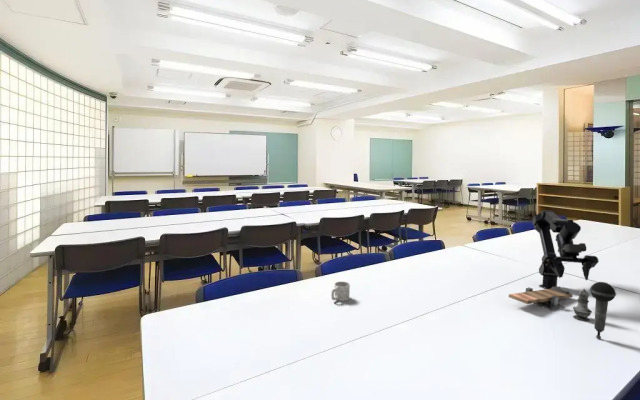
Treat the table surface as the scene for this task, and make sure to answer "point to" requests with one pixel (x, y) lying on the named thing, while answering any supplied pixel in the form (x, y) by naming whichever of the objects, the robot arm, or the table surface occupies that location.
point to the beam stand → (548, 302)
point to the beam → (541, 295)
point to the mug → (341, 291)
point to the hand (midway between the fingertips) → (573, 278)
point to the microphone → (601, 303)
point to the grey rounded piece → (582, 307)
